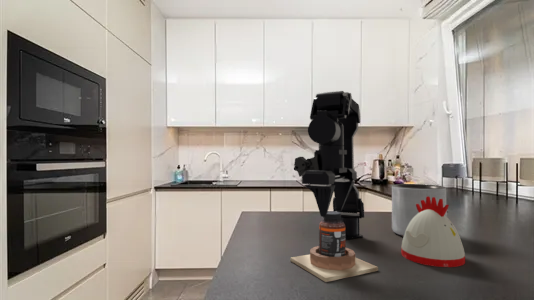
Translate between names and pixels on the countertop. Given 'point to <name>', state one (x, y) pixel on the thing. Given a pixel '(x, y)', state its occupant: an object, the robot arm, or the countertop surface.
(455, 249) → the kitchen timer
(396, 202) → the planter
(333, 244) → the supplement bottle
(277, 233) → the countertop surface
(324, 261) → the collar stand
